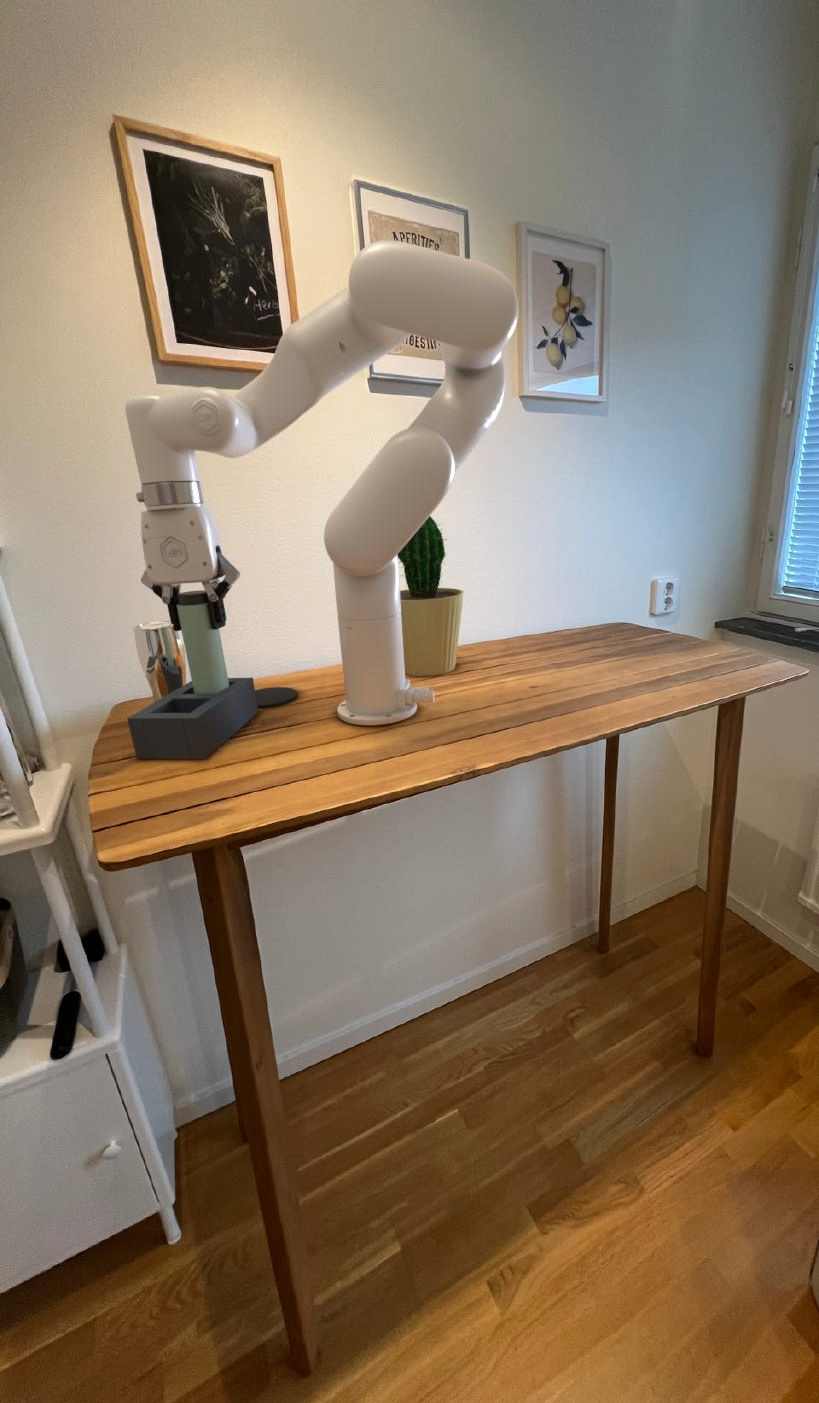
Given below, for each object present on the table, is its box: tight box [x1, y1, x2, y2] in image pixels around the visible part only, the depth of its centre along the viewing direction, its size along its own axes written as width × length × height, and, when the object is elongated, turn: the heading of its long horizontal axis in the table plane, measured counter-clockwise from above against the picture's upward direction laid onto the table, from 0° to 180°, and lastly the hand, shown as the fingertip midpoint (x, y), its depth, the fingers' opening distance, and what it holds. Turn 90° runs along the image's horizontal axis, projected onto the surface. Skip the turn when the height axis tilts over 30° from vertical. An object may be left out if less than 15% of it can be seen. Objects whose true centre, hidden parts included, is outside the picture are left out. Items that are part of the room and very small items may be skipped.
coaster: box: [255, 686, 299, 709], centre depth 97 cm, size 10×10×1 cm
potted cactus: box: [398, 515, 464, 677], centre depth 105 cm, size 15×15×30 cm
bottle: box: [177, 589, 229, 694], centre depth 82 cm, size 5×5×16 cm
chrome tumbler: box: [133, 620, 187, 703], centre depth 90 cm, size 7×7×15 cm
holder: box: [126, 677, 259, 761], centre depth 82 cm, size 10×18×6 cm, turn 172°
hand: (200, 627), depth 81 cm, fingers closed on bottle, 5 cm apart
